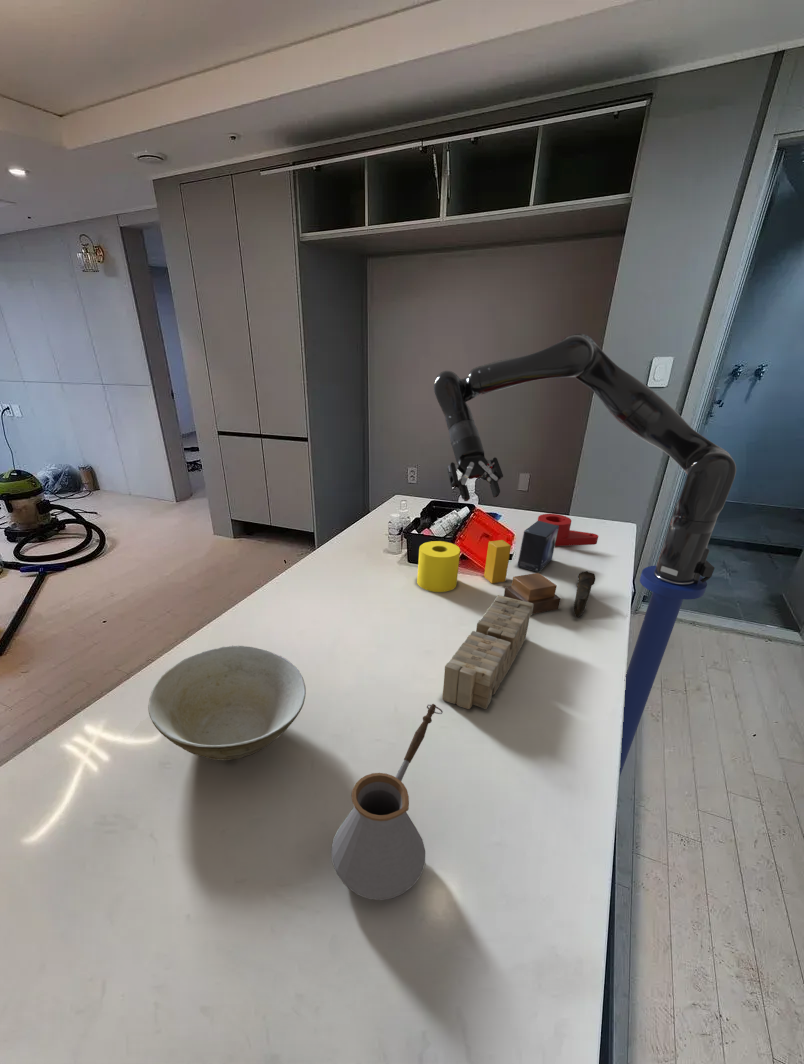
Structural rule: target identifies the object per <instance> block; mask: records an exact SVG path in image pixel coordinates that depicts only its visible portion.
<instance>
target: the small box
mask: <svg viewBox="0 0 804 1064" xmlns="http://www.w3.org/2000/svg"><path fill="white" fill-rule="evenodd" d="M558 529H559V526H558V525H554V524H549V523H546V522H542V521H538V520H536V521H535V522H534V523H533V524H531V525H530V526H528V527H527V528H526V529H525V530H524V531H523V534H522V538H521V539H522V540H521V545H520V551H519V556H518V561H517V565H516V567H518V568H522V569H525V570H529V571H532V572H534V573H540V572H541V571H542V570H543V569H544V568H545V567H546V566H547V565H548V564H549V563H550V562H551V561H552V560H553V556H554V551H555V547H556V546H555V542H556V538H557V533H558Z"/></svg>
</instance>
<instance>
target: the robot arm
mask: <svg viewBox="0 0 804 1064" xmlns="http://www.w3.org/2000/svg"><path fill="white" fill-rule="evenodd" d="M560 378H561V379H562V378H574V379H576V380H578V381H579V382H580V383H582V384H583V385H584V386H586V387H587V388H588V389H590V390H591V391H592V392H593V393H594V394H595V396H597V398H598V399H599V400H600V401H601V402H602V404H603V406H604V407H605V408H606V409H607V410H608V411H609V413H610V414H611V415H612V416H613V418H615V420H617V421H618V422H619V423H620V424H621V425H622V426H623V427H624V428H626V429H627V430H628V431H629V432H631V433H632V434H633V435H635V436H636V437H637V438H638V439H641V440H642V441H644V442H646V443H647V444H649V445H651V446H653V447H655V448H657V449H659V450H660V451H662V452H663V453H665V454H666V455H668V457H670V458H671V459H672V460H673V461H674V462H675V463H676V464H677V465H678V466H679V467H680V468H681V469H682V470H683V472H685V474H686V477H685V481H684V484H683V487H682V490H681V493H680V496H679V498H678V501H677V502H676V503H675V507H674V510H673V513H672V517H671V519H670V522H669V526H668V529H667V531H666V535H665V538H664V541H663V545H662V548H661V551H660V554H659V557H658V561H657V564H656V565H655V566H656V569H655V571H654V576H655V577H656V578H657V579H659V580H661V581H663V582H666V583H669V584H673V585H680V586H687V585H692V584H697V583H698V581H699V578H700V576H701V577H702V578H703V579H701V580H700V581H701V582H705V581H706V582H707V581H708V580H710V578H712V577H713V574H714V571H715V566H714V565H712V564H711V562H709V561H708V560H707V559H708V556H709V553H710V549H709V548H708V545H709V542H710V540H711V536H712V534H713V531H714V529H715V526H716V523H717V519H718V517H719V515H720V513H721V512H722V510H723V508H724V506H725V504H726V501H727V499H728V496H729V494H730V491H731V489H732V486H733V484H734V481H735V478H736V474H737V465H736V461H735V460H734V458H733V457H732V454H730V453H729V452H728V451H727V450H726V449H724V448H722V447H721V446H719V445H717V444H716V443H714V442H713V441H711V440H710V439H708V438H706V437H705V436H703V435H702V434H700V433H699V432H697V431H696V430H695V429H694V428H692V427H691V426H690V425H689V424H688V422H687V421H686V420H685V418H683V417H682V415H680V414H679V413H678V411H676V410H675V409H674V407H672V406H671V405H670V404H669V403H668V402H667V401H666V399H663V398H662V397H661V396H660V395H659V394H658V393H656V392H655V391H654V390H653V389H651V388H650V387H649V386H648V385H646V384H645V383H643V382H642V381H640V380H639V379H638V378H636V377H635V376H634V375H632V374H630V373H629V372H628V371H626V370H624V369H623V368H621V367H620V366H619V365H617V364H616V363H615V362H614V361H613V360H612V359H611V358H610V357H609V356H608V355H607V354H606V353H605V352H604V351H603V350H602V349H601V347H600V346H599V345H598V344H597V343H596V342H595V341H594V340H593V339H592V337H590V336H589V335H588V334H584V333H574V334H571V335H568V336H565V337H564V338H563V339H561V341H558V342H557V343H555V344H552V345H551V346H548V347H546V348H544V349H542V350H541V349H540V350H539V351H536V352H532V353H530V354H526V355H522V356H517V357H511V358H505V359H501V360H497V361H493V362H489V363H486V364H483V365H479V366H476V367H474V368H472V369H471V370H470V371H469V374H468V376H466V377H463V378H460V376H458V374H456V373H455V372H454V371H451V370H443V371H441V372H439V373H438V374H437V375H436V377H435V379H434V382H433V392H434V396H435V399H436V401H437V403H438V405H439V407H440V409H441V411H442V414H443V415H444V419H445V424H446V427H447V430H448V434H449V441H450V445H451V448H452V452H453V455H454V458H455V462H456V463H455V462H453V461H452V462H451V463H450V464H449V465H448V466H447V468H446V471H447V475H448V479H449V484H450V487H451V488H457V489H458V490H459V493H460V497H461V499H462V500H463V501H464V502H468V501H469V500H470V499H471V496H470V492H469V488H468V485H467V481H468V480H472V479H480V478H481V479H482V480H483V481H486V482H487V483H488V484H489V488H490V491H491V494H492V497H493V498H497V497H498V496H499V495H500V493H501V488H500V486H499V482H500V481H501V480H502V479H503V478H504V474H503V471H502V468H501V465H500V463H499V460H498V458H497V457H495V456H494V457H493V458H492V459H487V458H486V457H485V450H484V446H483V444H482V440H481V436H480V433H479V430H478V427H477V425H476V424H475V423H476V422H475V420H474V416H473V413H472V411H471V408H470V406H469V405H468V403H467V402H469V401H471V400H473V399H475V398H477V397H478V396H480V395H487V394H490V393H494V392H498V391H501V390H505V389H508V388H512V387H515V386H519V385H523V384H525V383H531V382H535V381H541V380H548V379H560ZM458 471H459V473H461V476H460V478H459V476H458Z"/></svg>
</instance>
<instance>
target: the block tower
mask: <svg viewBox="0 0 804 1064" xmlns="http://www.w3.org/2000/svg"><path fill="white" fill-rule="evenodd" d="M533 605H534V604H533V603H529V602H525V601H520V600H516V599H512V598H508V597H504V595H497V596H496V598H495V599H494V601H492V604H491V605H490V607H489V608H487V611H486V612H485V613H484V614H483V615H482V617H481V619H480V620H478V621H477V623H476V629H475V630H472V631H471V632H470V634H469V635H468V636H466V639H465V640H464V642H462V644H461V645H460V646H459V647H458V649H457V650H456V652H455V653H454V654H453V655H452V658H450V660H449V661H448V662H446V664H445V665H444V675H443V687H442V699H441V700H442V701H444V702H447V703H451V704H454V705H455V704H456V706H457V707H461V708H462V709H463V708H464V709H466V710H470V709H471V708H472V707H473V706H476V707H478V708H481V709H484V710H487V709H488V707H489V705H490V703H491V702H492V696H495V695H496V692H497V691H498V690H499V688H500V685H501V684H502V682H503V681H504V679H505V677H506V675H508V672H509V670H510V669H511V667H512V664H513V663H514V662H515V661H516V658H517V657H518V654H519V653H520V650H521V648H522V647H523V646H524V645H523V644H524V642H525V640H526V638H527V635H528V634H527V633H528V629H529V623H530V619H531V617H532V615H533V614H532V612H533Z"/></svg>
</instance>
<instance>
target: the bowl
mask: <svg viewBox="0 0 804 1064" xmlns="http://www.w3.org/2000/svg"><path fill="white" fill-rule="evenodd" d="M150 692H151V693H150V695H149V699H148V705H147V711H148V715H149V719H150V720H151V723H152V724H153V726H154V727H155V729H156V730H158V732H159V733H160V734H161V735H162V736H164V738H165V739H167V740H168V741H170V742H171V743H173V744H174V745H176V746H178V747H179V748H181V749H183V750H184V751H186V752H187V753H190V754H193V755H195V756H197V757H201V758H206V759H210V760H217V761H231V760H237V759H241V758H245V757H248V756H250V755H253V754H255V753H258V752H259V751H262V749H264V748H265V747H268V746H269V745H271V744H272V743H273V742H274V741H275V740H276V739H278V738H279V737H280V736H281V735H283V734H284V733H285V731H287V729H288V728H289V727H290V726H291V725H292V724H293V722H294V721H295V720H296V718H298V716H299V714H300V713H301V711H302V709H303V707H304V704H305V699H306V694H307V688H306V684H305V680H304V677H303V675H302V673H301V672H300V670H299V668H298V667H296V665H294V664H293V662H291V661H290V660H288V659H287V658H285V657H283V656H282V655H279V654H277V653H274V652H272V651H270V650H267V649H263V648H258V647H254V646H247V645H230V646H222V647H218V648H212V649H207V650H205V651H202V652H200V653H197V654H193V655H191V656H188V657H186V658H184V659H182V660H180V661H179V662H177V663H176V664H175V665H173V666H171V668H169V669H167V671H165V672H164V673H163V674H162V675H161V676H160V678H159V679H158V680H157V682H156V683H155V685H154V686H153V688H152V689H151V691H150Z"/></svg>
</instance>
